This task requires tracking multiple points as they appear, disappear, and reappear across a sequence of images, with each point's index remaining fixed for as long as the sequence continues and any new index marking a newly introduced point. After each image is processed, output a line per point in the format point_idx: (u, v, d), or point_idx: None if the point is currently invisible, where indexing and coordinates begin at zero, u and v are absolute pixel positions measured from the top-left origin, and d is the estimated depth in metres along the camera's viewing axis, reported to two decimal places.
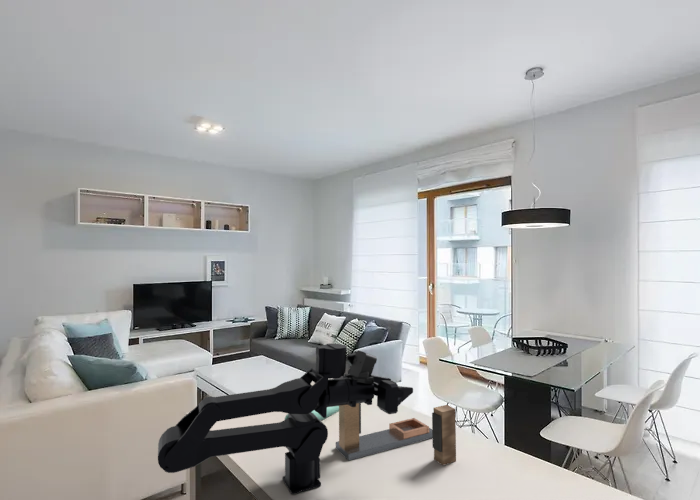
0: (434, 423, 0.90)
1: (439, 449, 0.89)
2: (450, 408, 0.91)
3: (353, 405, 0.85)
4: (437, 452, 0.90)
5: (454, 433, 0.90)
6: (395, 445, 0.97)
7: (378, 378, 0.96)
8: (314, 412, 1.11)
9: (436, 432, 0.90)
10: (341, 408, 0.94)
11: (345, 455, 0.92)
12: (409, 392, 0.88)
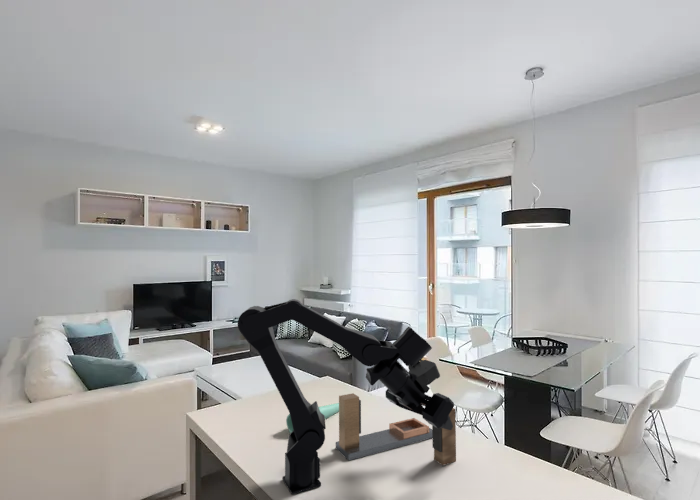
0: None
1: (439, 449, 0.89)
2: None
3: (401, 397, 0.83)
4: (437, 452, 0.90)
5: (454, 433, 0.90)
6: (395, 445, 0.97)
7: None
8: None
9: (436, 432, 0.89)
10: (341, 408, 0.94)
11: (345, 455, 0.92)
12: (449, 426, 0.85)
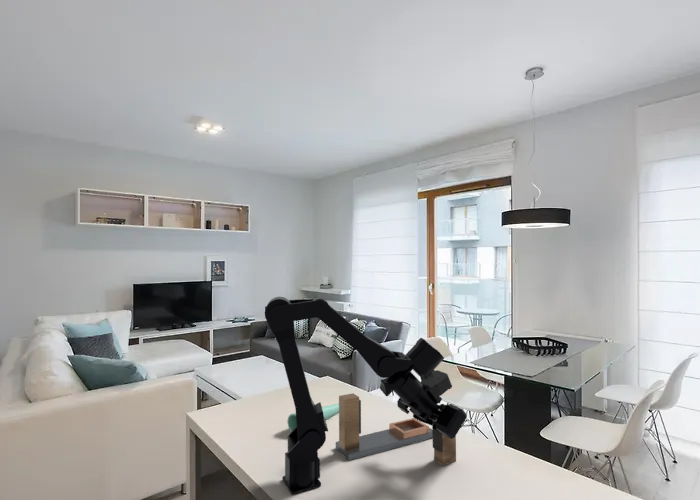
0: (434, 423, 0.90)
1: (439, 449, 0.89)
2: None
3: (414, 407, 0.84)
4: (437, 452, 0.90)
5: None
6: (395, 445, 0.97)
7: None
8: None
9: (436, 432, 0.90)
10: (341, 408, 0.94)
11: (345, 455, 0.92)
12: None
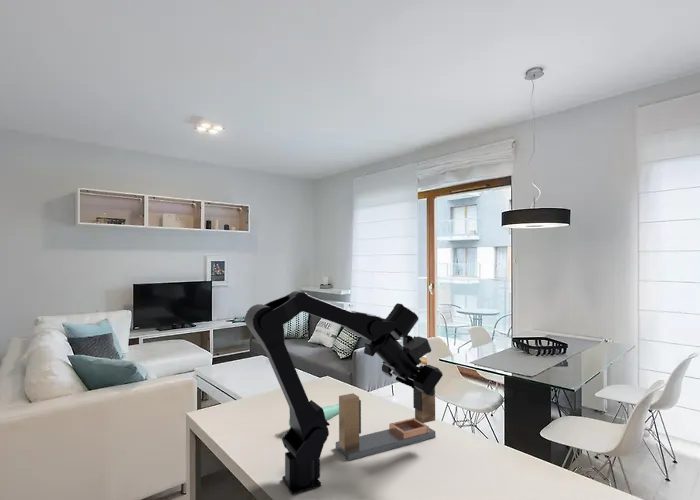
0: None
1: (419, 408, 0.95)
2: None
3: (394, 367, 0.91)
4: (417, 412, 0.97)
5: None
6: (395, 445, 0.97)
7: None
8: None
9: (416, 393, 0.96)
10: (341, 408, 0.94)
11: (345, 455, 0.92)
12: (431, 392, 0.96)
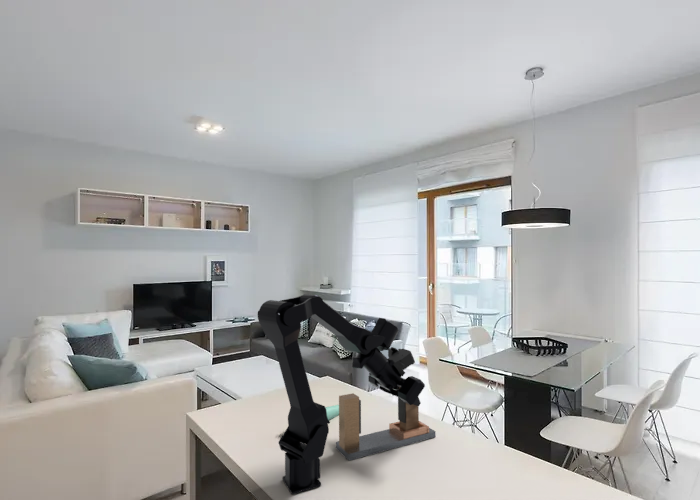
0: None
1: (403, 420, 1.01)
2: None
3: (380, 379, 0.97)
4: (402, 423, 1.02)
5: (417, 407, 1.03)
6: (395, 445, 0.97)
7: None
8: None
9: (401, 406, 1.02)
10: (341, 408, 0.94)
11: (345, 455, 0.92)
12: (417, 403, 1.01)
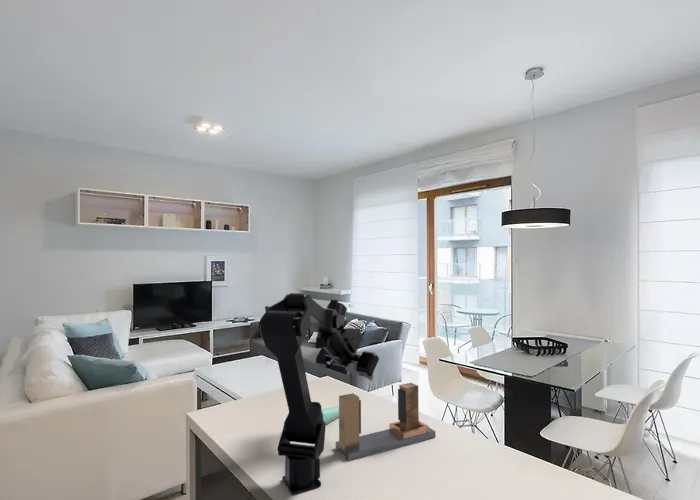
0: (399, 398, 1.03)
1: (403, 420, 1.01)
2: (414, 385, 1.03)
3: (339, 356, 1.01)
4: (402, 423, 1.02)
5: (417, 407, 1.03)
6: (395, 445, 0.97)
7: None
8: (324, 413, 1.10)
9: (401, 406, 1.02)
10: (341, 408, 0.94)
11: (345, 455, 0.92)
12: (371, 377, 1.08)
